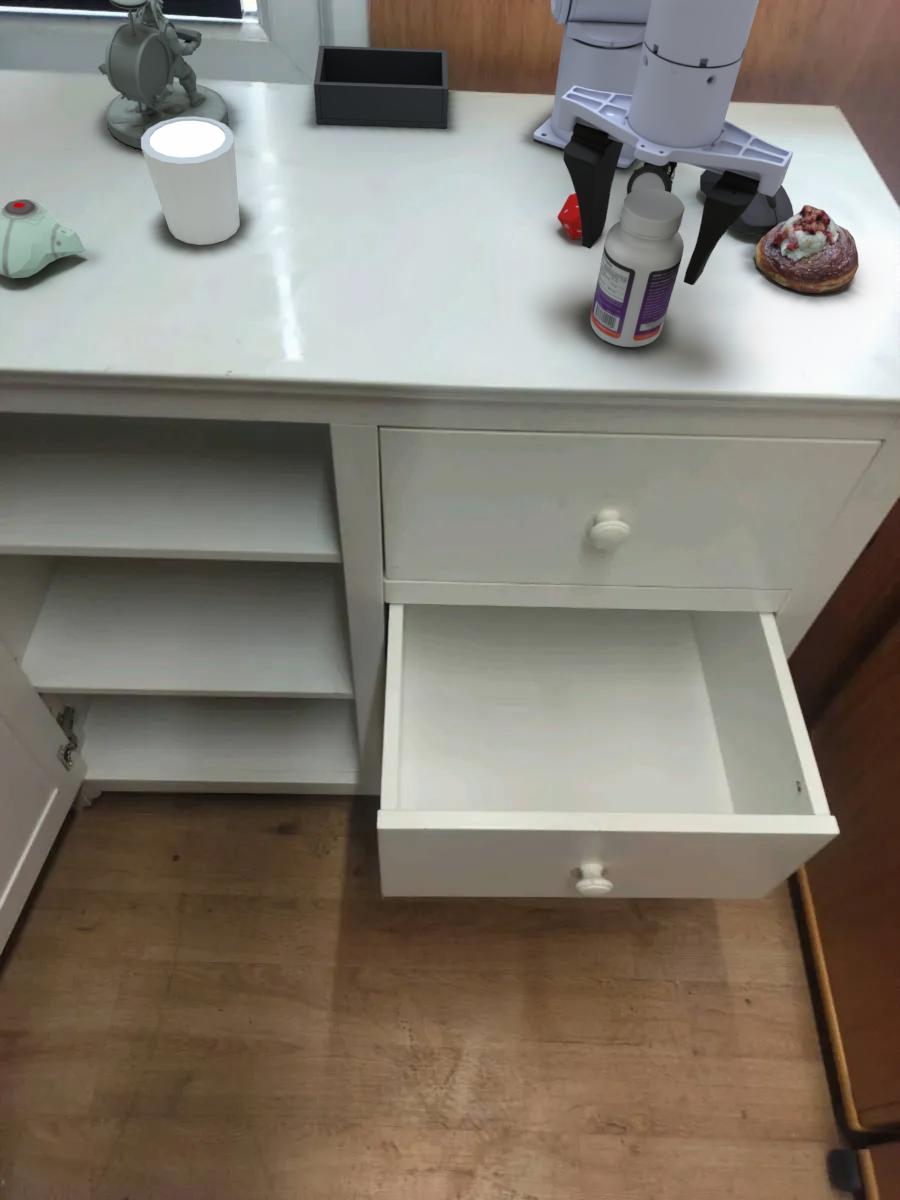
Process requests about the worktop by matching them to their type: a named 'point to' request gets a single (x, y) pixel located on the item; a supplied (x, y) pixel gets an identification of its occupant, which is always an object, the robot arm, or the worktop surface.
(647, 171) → the smartwatch
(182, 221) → the white cylinder
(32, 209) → the robot head
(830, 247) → the pastry
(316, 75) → the bin
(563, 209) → the die
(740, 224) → the computer mouse
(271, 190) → the worktop surface
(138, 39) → the figurine
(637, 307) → the pill bottle
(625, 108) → the robot arm
